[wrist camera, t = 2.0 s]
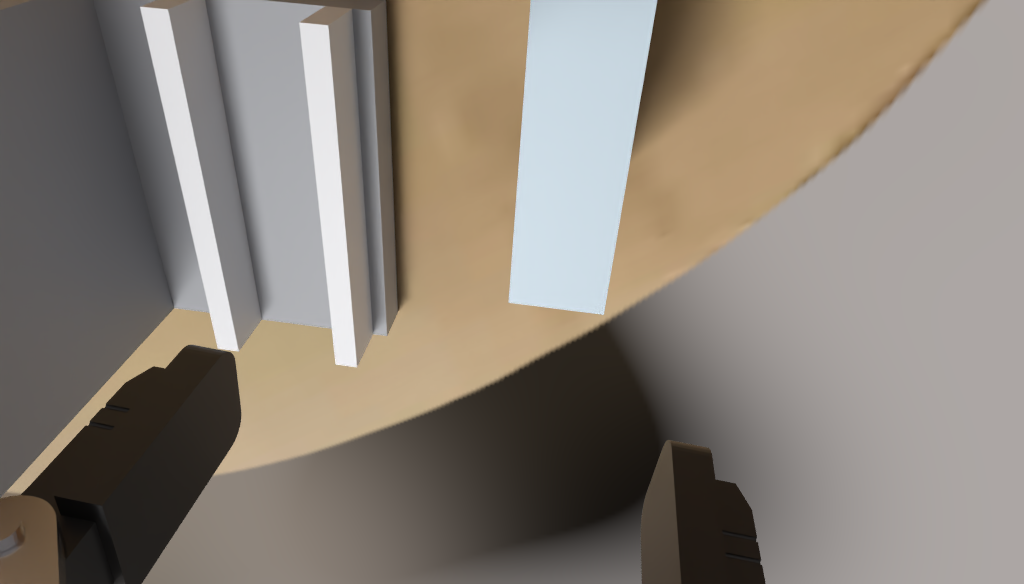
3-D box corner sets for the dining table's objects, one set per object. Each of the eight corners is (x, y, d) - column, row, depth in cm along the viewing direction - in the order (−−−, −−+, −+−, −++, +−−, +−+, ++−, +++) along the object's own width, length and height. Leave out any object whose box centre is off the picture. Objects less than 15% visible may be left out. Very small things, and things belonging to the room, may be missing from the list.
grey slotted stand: (91, -30, 28) (-284, 76, 16) (385, -2, 27) (210, 132, 15) (172, 282, 36) (-36, 498, 25) (397, 311, 35) (291, 548, 24)
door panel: (569, -158, 23) (541, -146, 15) (659, -151, 23) (680, -135, 15) (539, 171, 30) (508, 302, 22) (608, 179, 30) (603, 314, 22)
